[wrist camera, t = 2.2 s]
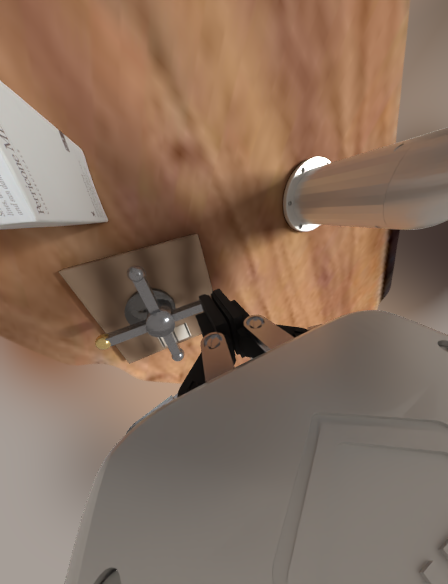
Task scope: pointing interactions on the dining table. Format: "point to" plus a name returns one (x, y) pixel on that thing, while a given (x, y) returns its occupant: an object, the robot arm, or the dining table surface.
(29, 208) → the skincare box
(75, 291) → the board
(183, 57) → the dining table surface
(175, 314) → the capstan
